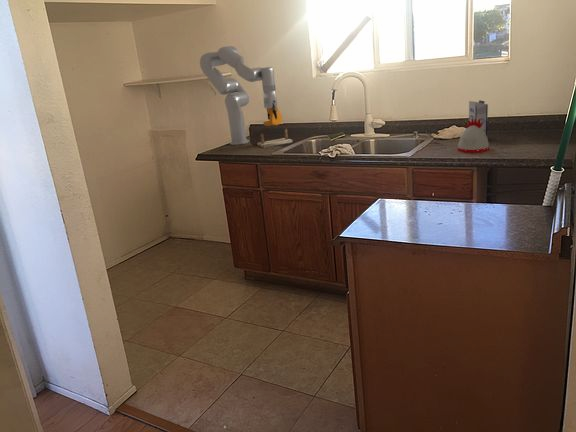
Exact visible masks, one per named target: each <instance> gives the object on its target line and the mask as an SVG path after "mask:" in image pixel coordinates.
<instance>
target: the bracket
mask: <svg viewBox="0 0 576 432" xmlns="http://www.w3.org/2000/svg"><path fill="white" fill-rule="evenodd" d="M272 108H274V107H272ZM267 112H268V114H270V119H269V120H268V121H267V120H266V121H263V126H265V127H271V126H278V125H281V123H284V118H283V117H282V114H281V111H280V108H279V106H278V105H277V119H275V116H274V113H273V112H272V110H271V109H266V113H267ZM268 114H267V115H268Z"/></svg>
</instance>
